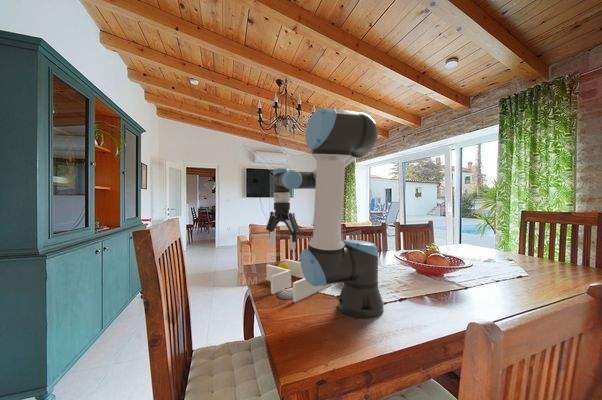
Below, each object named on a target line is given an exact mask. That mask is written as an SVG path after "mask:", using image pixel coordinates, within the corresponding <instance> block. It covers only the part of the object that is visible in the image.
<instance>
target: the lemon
mask: <svg viewBox="0 0 602 400" xmlns="http://www.w3.org/2000/svg"><path fill="white" fill-rule="evenodd" d="M277 267H280V268H284V269H288V270H289V267H288V264H287V263H285V260H284V261H281V262H279V263H278V264H277Z"/></svg>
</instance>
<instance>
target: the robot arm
mask: <svg viewBox="0 0 602 400" xmlns="http://www.w3.org/2000/svg"><path fill="white" fill-rule="evenodd" d="M304 136H305V142H306V143H305V144H306V146H307V147H308V148H310V149H311V156H312V157H313V158H314V159H315V160H316V167H315V168H314V170H313V171H296V170H290V169H289V168H285V167H284V168H282V167H281V168H279V167H278V168H274V169H273V176H272V178H273V179H272V181H273V201H274V202H273V211H270V212H269V214H270V215H269V219H268V221H267V223H266V227H265V230H266V231H268V232H269V233H268V234H269V235H268V236H269V237H268V238H269V246H275V245H276V231H275V229H276V228H277V225H279V223H284V224H285V225H286V227H287V228H288V231H289V232H290V235H289V241H290V242H289V245H290V248H289V249H290V250H291V251H293V250H296V247H297V246H296V245H297V244H296V243H297V235H298V234H300V233H301V230H300V228H299V225H298V222H297V220H296V219H297V218H296V217H295V216H296V214H295V212H290V210H291V203H290V201H291V190H301V189H302V190H305V189H306V190H307V189H308V190H309V189H311V190H312V189H314V190H315V192H314V209H313V211H314V213H313V230H312V237H311V238H310V239H309V240H308V241H307V248H305V249H303V250H301V253H300V254H299V255H300V256H299V262H300V263H301V268H302V271H303V274H304V277H305V279H306V280H307V282H308V283H309V284H310V285H312V286H326V285H329V284H331V285H333V284H339V283H342V288H341V291H340V293H339V296H338V306H337V307H338V309H339V311H341V312H342V313H343V314H345V315H348V316H350V317H355V318H360V319H361V318H362V319H371V318H376V317H379V316H381V315H382V314H383V313H384V301H383V299H382V295H381V292H380V289H379V274H378V273H379V267H378V266H379V255H378V246H377V245H376V244H375V243H373V242H371V241H365V240H360V239H359V240H357V239H343V240H342V239H341V235H342V233H341V231H342V220H343V219H342V217H343V202H344V201H343V200H344V189H345V174H346V168H347V167H348V166H349V165H350V164H351V163H352V162H354V161H355V160H356V159H361V158H363V157H365V156H366V155H367V154H369V152H370V151H372V149H373V148H375V145H376V143H377V141H378V137H379V130H378V126H377V123H376V121H375V120H374V119H373V117H371V116H370V115H369V114H367V113H365V112H361V111H352V110H346V109H340V108H335V107H319V108H318V109H316V110H315V111H313V112H312V114H311V116H310V118H309V119H308V122H307V125H306V128H305V135H304Z"/></svg>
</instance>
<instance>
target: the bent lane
mask: <svg viewBox="0 0 602 400" xmlns="http://www.w3.org/2000/svg"><path fill="white" fill-rule="evenodd" d="M284 262H285V263H287V264H288V267H289V270H288V269H284V268H280V267H278V266H275V265H271V264H266V266H265V267H266V281H268V282H270V294H272V295H274V294H276V293H277V294H278V293H280V292H281V291H280V290H281V289H284V290H286V289H285V288H287V289H289V288H291V287H292V291H293V299H292V300H293V301H292V302H293V303H297V302H299V301H302V300H304V299H306V298H308V297H310V296H312V295H313V294H316V293H318V292H320V291H322V290H325V289H326V288H328V287H330V286H332V284H329V285H326V286H312V285H310V284H309V283H308V282H307V280H306V279H305V277H304V274H303V271H302V268H301V263H300V261H296V260H292V259H284ZM292 276H293V277H295V278H300V279H299V280H296V281H294V282H292Z"/></svg>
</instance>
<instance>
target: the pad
mask: <svg viewBox="0 0 602 400" xmlns="http://www.w3.org/2000/svg"><path fill="white" fill-rule="evenodd" d="M287 290H288V291H286V290H285V291H286V292H283V293H282V291H279V292H277V297H278V298H279V299H281V300H293V289H292V290H289V289H287Z"/></svg>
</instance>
